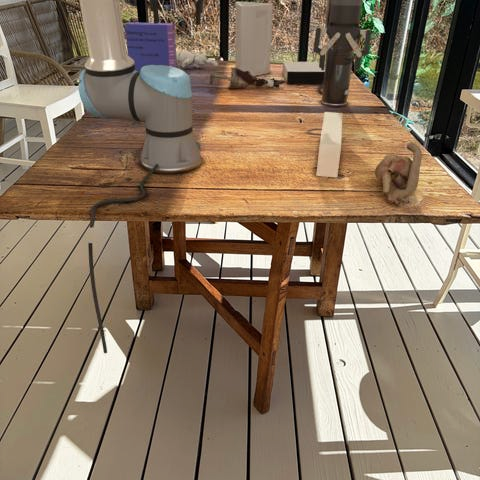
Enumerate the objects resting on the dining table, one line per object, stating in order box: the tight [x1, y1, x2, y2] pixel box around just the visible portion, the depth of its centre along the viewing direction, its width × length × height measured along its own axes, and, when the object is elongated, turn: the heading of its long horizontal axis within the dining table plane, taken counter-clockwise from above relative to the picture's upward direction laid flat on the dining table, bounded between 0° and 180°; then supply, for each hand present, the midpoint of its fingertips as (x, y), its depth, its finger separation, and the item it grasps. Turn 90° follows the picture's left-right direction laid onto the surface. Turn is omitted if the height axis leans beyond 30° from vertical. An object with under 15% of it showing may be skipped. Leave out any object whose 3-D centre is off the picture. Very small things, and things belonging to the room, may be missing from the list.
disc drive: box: [281, 61, 325, 85], centre depth 207 cm, size 18×22×5 cm
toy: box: [176, 50, 219, 69], centre depth 223 cm, size 24×25×7 cm
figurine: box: [209, 66, 287, 89], centre depth 190 cm, size 24×8×30 cm
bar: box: [315, 111, 344, 178], centre depth 127 cm, size 28×5×8 cm, turn 169°
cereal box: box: [124, 21, 178, 72], centre depth 181 cm, size 17×5×24 cm, turn 86°
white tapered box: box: [234, 1, 274, 77], centre depth 210 cm, size 19×15×28 cm
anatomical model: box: [374, 141, 423, 205], centre depth 107 cm, size 13×9×15 cm
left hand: (177, 24), depth 150 cm, fingers open, 13 cm apart
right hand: (338, 70), depth 126 cm, fingers open, 8 cm apart
